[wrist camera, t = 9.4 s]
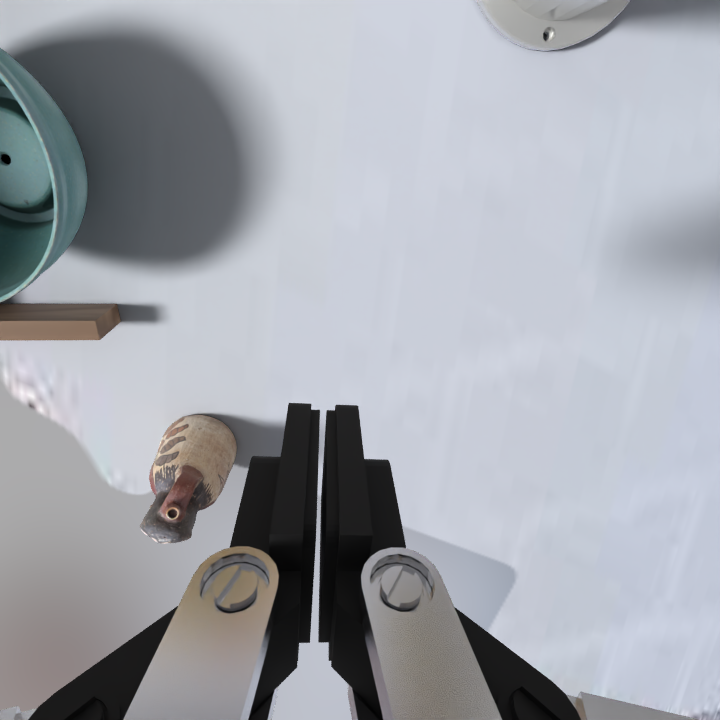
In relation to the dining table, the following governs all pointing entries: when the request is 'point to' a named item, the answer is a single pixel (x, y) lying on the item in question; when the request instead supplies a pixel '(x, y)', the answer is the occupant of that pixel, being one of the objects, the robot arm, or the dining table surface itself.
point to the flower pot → (35, 179)
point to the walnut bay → (57, 321)
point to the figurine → (187, 475)
